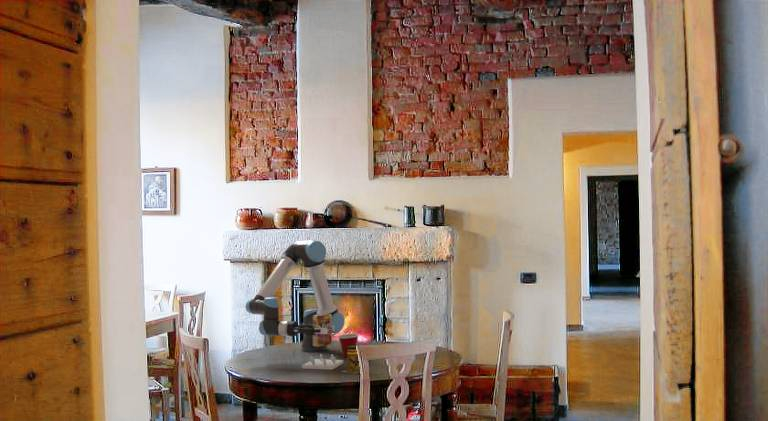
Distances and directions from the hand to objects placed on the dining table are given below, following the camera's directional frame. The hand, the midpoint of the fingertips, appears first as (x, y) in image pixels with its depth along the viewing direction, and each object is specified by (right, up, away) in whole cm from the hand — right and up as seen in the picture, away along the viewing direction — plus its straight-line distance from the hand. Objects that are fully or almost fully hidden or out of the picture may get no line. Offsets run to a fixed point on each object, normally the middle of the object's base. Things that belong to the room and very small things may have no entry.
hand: (330, 329), depth 321 cm
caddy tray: (-4, -18, +1) cm, 19 cm away
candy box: (-4, -8, +1) cm, 9 cm away
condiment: (+12, -18, -14) cm, 25 cm away
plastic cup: (+8, -19, +21) cm, 29 cm away
